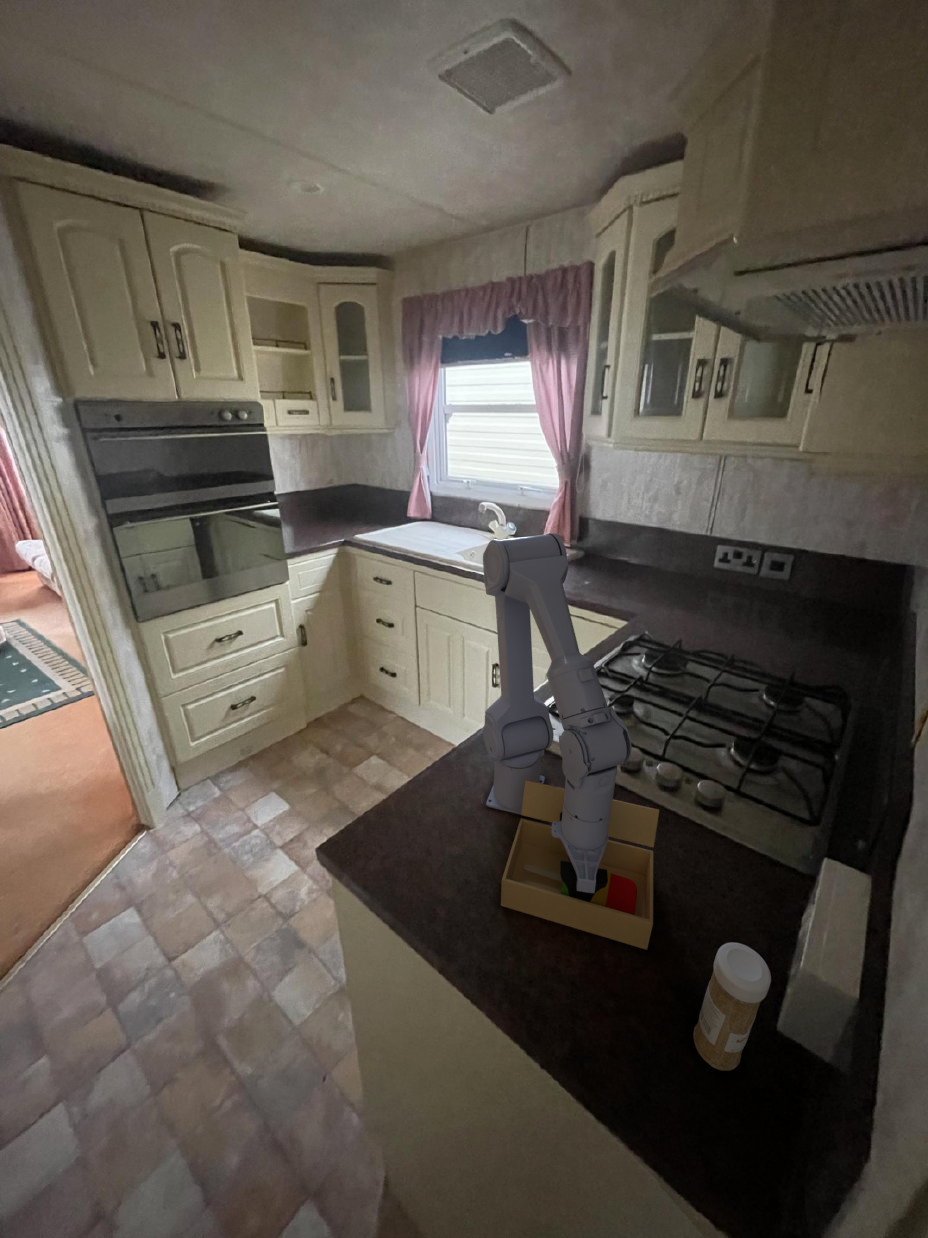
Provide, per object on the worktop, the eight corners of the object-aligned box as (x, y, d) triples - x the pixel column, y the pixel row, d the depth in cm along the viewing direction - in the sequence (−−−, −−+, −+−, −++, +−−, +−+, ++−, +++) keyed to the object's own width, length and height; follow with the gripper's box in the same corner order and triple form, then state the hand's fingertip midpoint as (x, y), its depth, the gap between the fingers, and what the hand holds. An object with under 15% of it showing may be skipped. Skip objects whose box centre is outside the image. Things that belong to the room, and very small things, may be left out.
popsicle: (633, 926, 64) (634, 916, 64) (517, 887, 69) (518, 877, 69) (636, 889, 69) (638, 880, 68) (528, 855, 74) (529, 846, 73)
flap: (521, 815, 74) (521, 814, 75) (653, 847, 69) (653, 846, 69) (525, 780, 74) (525, 779, 74) (659, 810, 68) (659, 809, 69)
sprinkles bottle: (742, 1081, 50) (775, 999, 45) (692, 1061, 52) (718, 979, 46) (738, 1031, 54) (768, 950, 49) (691, 1013, 56) (715, 933, 50)
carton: (519, 842, 77) (520, 818, 75) (648, 876, 71) (653, 850, 69) (500, 905, 67) (501, 880, 65) (647, 950, 62) (653, 923, 60)
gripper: (554, 762, 70) (548, 834, 76) (553, 848, 57) (546, 928, 63) (607, 767, 69) (597, 840, 75) (619, 856, 56) (606, 937, 62)
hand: (577, 881), depth 69 cm, fingers closed on popsicle, 6 cm apart
